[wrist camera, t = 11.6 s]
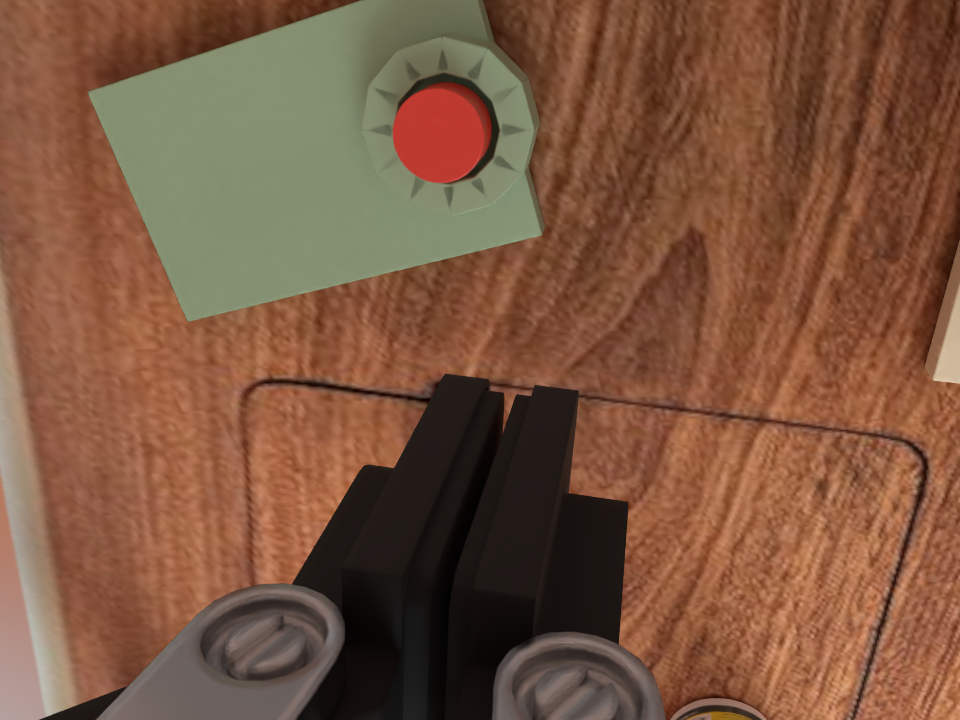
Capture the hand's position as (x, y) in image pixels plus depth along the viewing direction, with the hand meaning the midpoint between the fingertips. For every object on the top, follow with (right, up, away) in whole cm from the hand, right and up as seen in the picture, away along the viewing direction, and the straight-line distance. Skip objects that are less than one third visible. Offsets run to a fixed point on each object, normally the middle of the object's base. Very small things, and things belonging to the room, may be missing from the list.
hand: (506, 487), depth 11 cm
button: (-1, +10, +21) cm, 23 cm away
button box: (-7, +10, +25) cm, 27 cm away
